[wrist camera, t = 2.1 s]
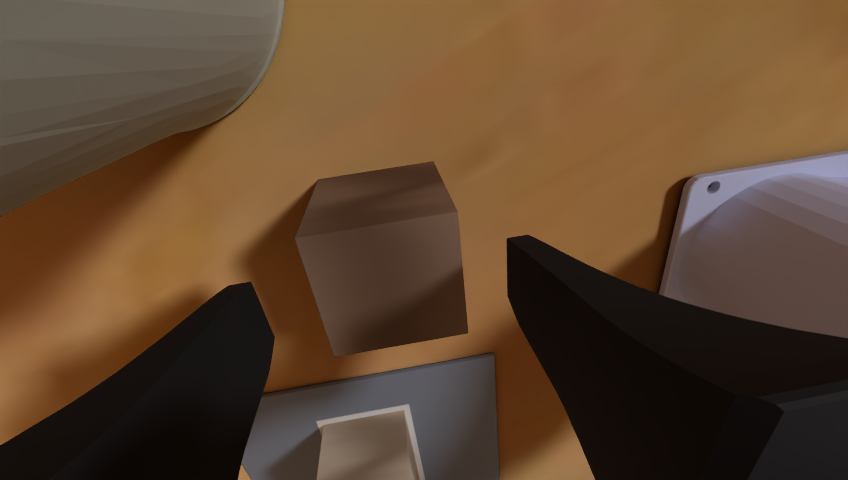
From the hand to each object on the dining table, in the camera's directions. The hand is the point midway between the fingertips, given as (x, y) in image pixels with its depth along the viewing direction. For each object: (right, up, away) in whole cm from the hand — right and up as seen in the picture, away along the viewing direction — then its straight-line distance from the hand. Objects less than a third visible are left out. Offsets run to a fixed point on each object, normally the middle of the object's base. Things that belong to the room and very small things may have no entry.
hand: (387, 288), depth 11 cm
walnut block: (0, +2, +4) cm, 5 cm away
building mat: (-2, -11, +11) cm, 16 cm away
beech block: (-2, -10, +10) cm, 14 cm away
